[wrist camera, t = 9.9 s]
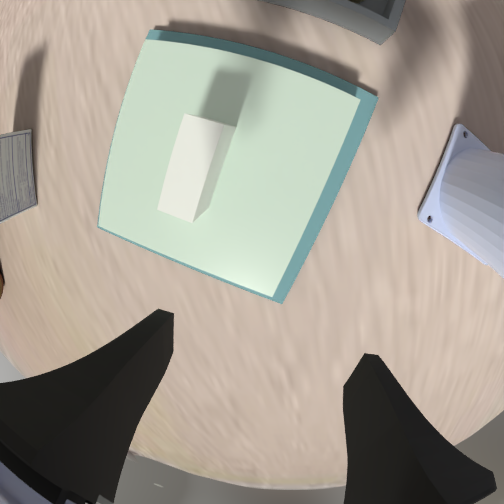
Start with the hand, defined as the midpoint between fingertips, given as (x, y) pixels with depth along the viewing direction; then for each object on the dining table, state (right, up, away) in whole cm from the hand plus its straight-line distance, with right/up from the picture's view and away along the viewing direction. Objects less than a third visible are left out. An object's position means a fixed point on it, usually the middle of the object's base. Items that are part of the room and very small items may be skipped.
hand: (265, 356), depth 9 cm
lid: (-3, +9, +6) cm, 11 cm away
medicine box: (-24, +12, +10) cm, 28 cm away
